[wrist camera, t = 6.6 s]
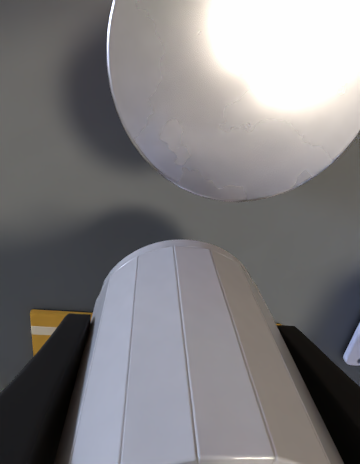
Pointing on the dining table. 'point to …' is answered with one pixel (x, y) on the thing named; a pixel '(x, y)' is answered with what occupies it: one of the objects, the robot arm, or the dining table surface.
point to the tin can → (236, 89)
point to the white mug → (188, 370)
